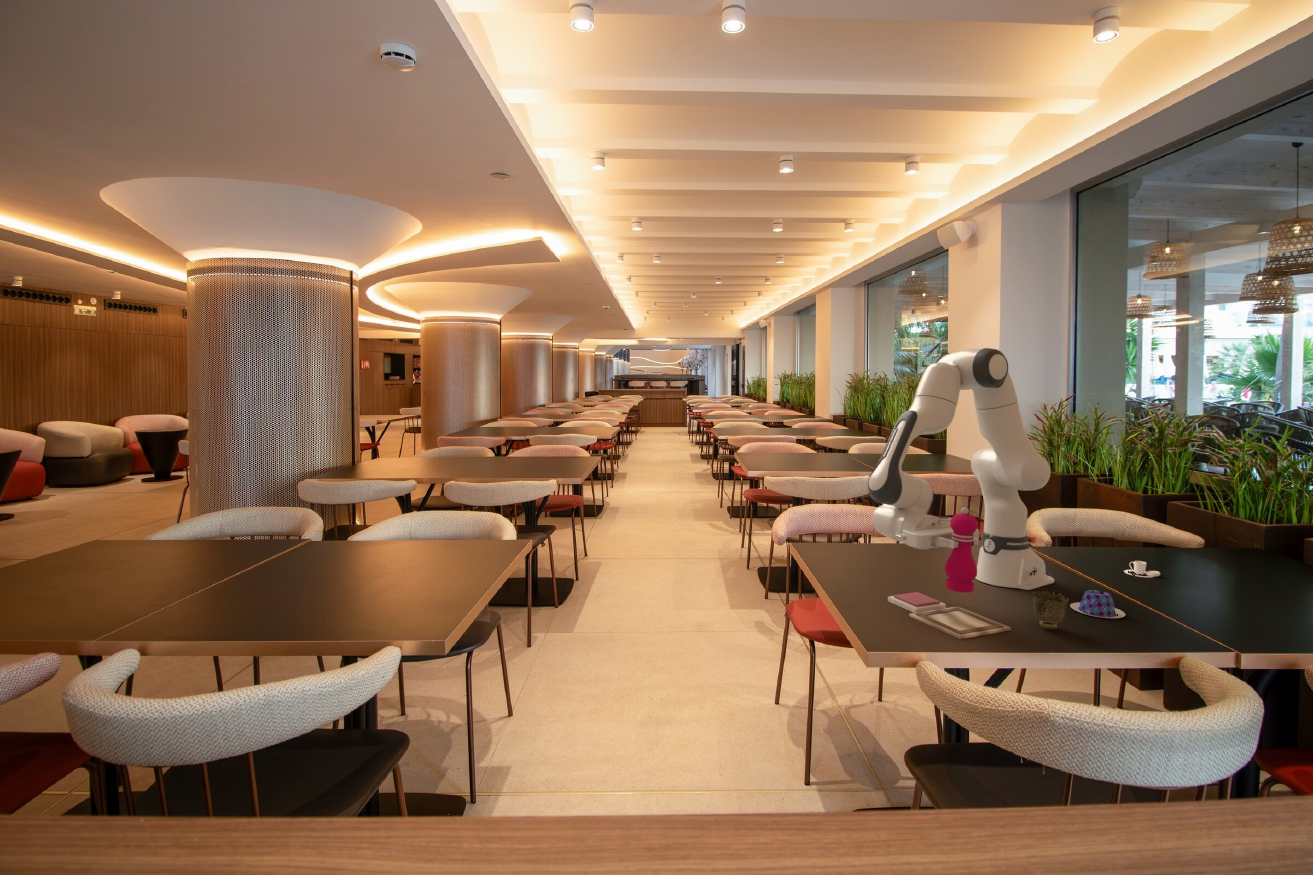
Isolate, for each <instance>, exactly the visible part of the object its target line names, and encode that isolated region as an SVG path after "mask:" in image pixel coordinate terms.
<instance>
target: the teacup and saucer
mask: <svg viewBox="0 0 1313 875" xmlns="http://www.w3.org/2000/svg"><path fill="white" fill-rule="evenodd" d="M1131 564H1133V567H1132V565H1131ZM1128 565H1129V567H1130V569H1125V570H1123V572H1124V573H1125V574H1127V575H1130V576H1133V575H1132V573H1130V572H1134V575H1135V576H1134V577H1138V578H1139V577H1140V578H1155V577H1159V576H1161V572H1160V571H1157V570H1148V571H1147V570H1146V568H1147V562H1146V561H1141V560H1134V561H1130V562H1129V564H1128ZM1128 571H1129V573H1128ZM1135 573H1136V574H1135ZM1139 574H1141V575H1139ZM1143 575H1144V576H1143ZM1145 575H1146V576H1145Z"/></svg>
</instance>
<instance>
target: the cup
mask: <svg viewBox="0 0 1313 875" xmlns="http://www.w3.org/2000/svg"><path fill="white" fill-rule="evenodd" d="M1031 595H1032V604H1033V605H1032V606H1033V608H1032V609H1033V613H1034V616H1035V617H1036V619H1038V620H1039V626H1040V627H1041V628H1042V629H1045V630H1052V631H1054V630H1056V629H1057V627H1058V624H1059V623H1061V622H1062V621H1063V620H1064V618H1065V616H1066V611H1067V608H1068V604H1069V603H1068V602H1069V598H1068V597H1067V598H1066V596H1065V595H1063V594H1062V593H1057V594H1056V593H1055V591H1054V592H1052V593H1050V592H1049V591H1047V590H1046V592H1045V591H1044V590H1043V591H1041V592H1040V591H1039V590H1038V591H1037V592H1036V591H1033V592H1032V594H1031Z"/></svg>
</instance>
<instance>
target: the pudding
mask: <svg viewBox="0 0 1313 875" xmlns="http://www.w3.org/2000/svg"><path fill="white" fill-rule="evenodd" d="M1069 607H1070V608H1071V609H1073V610H1074V611H1077V612H1078V613H1081V614H1083V615H1084V614H1085V615H1088V616H1091V617H1096V618H1099V617H1100V618H1104V619H1105V618H1106V619H1120V618H1124V617H1125V616H1126V613H1125V612H1124V611H1122V610H1121V609H1118V608H1116V607H1115V603H1114V599H1113V595H1112V594H1111V593H1108V592H1106V591H1102V590H1097V589H1096V590H1095V589H1088V590H1085V591H1084V594H1083V595H1082V597H1081V600H1080V601H1079V602H1073V603H1070V605H1069ZM1080 609H1081V610H1080ZM1117 614H1118V616H1117Z"/></svg>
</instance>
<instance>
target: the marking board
mask: <svg viewBox="0 0 1313 875" xmlns="http://www.w3.org/2000/svg"><path fill="white" fill-rule="evenodd" d="M908 617H910V618H912V619H914V620H916V621H919V622H921V623H924V624H925V625H928V626H929V627H932V628H935V629H936V630H939V631H940V632H943V633H945V634H948V635H950V636H952V637H954V638H957V639H958V640H963V638H964V639H969V638H974V637H975V638H976V637H980V636H985V635H991V634H992V635H993V634H997V633H1003V632H1008V631H1012V627H1010V626H1008V625H1005V624H1003V623H1001V622H997V621H996V620H993V619H990V618H987V617H985V616H982V615H980V614H978V613H975V612H972V611H970V610H967V609H965V608H962V607H960V606H958V605H957V606H951V607H946V608H944V609H937V610H931V611H924V612H918V613H913V612H911V613H908Z"/></svg>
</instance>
